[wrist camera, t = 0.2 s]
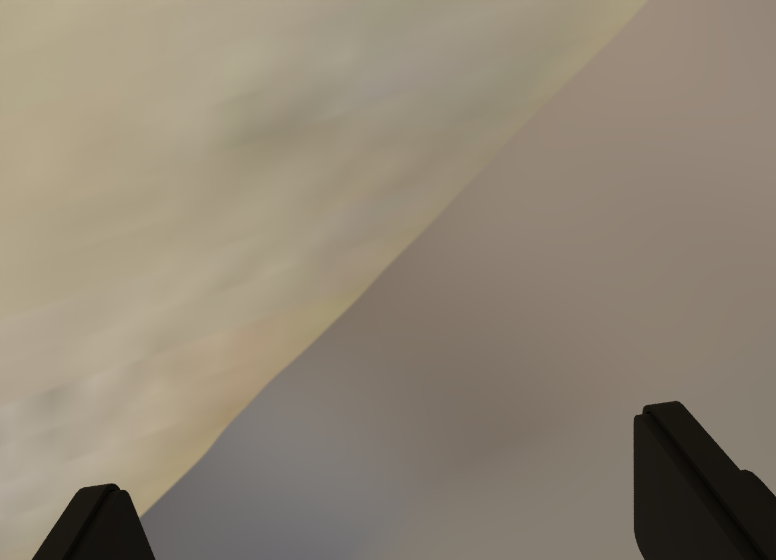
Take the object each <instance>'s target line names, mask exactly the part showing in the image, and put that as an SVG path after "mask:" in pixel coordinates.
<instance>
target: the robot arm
mask: <svg viewBox="0 0 776 560" xmlns="http://www.w3.org/2000/svg"><path fill="white" fill-rule="evenodd" d="M634 533H635V538H636V542H637V544H638V547H639V550H640V552H641V554H642V555H643V557H644V559H645V560H776V497H775V495H774V494H773V493H772V492H771V491H770V490H769V489H768V488H767V486H766V485H765V484H764V483H763V482H762V481H761V480H760V479H759V478H758V477H757V476H756V475H755V474H753V473H752V472H750V471H748V470H740V469H739V468H738V467H737V466H736V465H735V464H734V463H733V461H732V460H731V459H730V458H729V457H728V456H727V455H726V453H725V452H724V451H723V450H722V449H721V448H720V447H719V445H718V444H717V443H716V442H715V441H714V440H713V439H712V437H711V436H710V435H709V434H708V433H707V432H706V431H705V430H704V428H703V427H702V426H701V425H700V424H699V423H698V421H697V420H696V419H695V418H694V417H693V416H692V415H691V413H689V411H688V410H687V409H686V408H685V407H684V405H683V404H681V403H680V402H678V401H673V402H666V403H659V404H652V405H646V406H644V408H643V413H642V414H641V415H636V416H635V418H634ZM32 560H155V557H154V555H153V552H152V550H151V547H150V545H149V542H148V540H147V537H146V535H145V532H144V530H143V527H142V525H141V522H140V520H139V517H138V515H137V512H136V510H135V507H134V505H133V502H132V500H131V497H130V495H129V493H128V492H127V491H126V490H120V488H119V487H118V486H117V485H116V484H112V483H111V484H104V485H97V486H90V487H84V488H81V489H79V491H78V492H77V493H76V494H75V495H74V497H73V498H72V500H71V502H70V503H69V505H68V506H67V508H66V509H65V511H64V512H63V514H62V515H61V517H60V518H59V520H58V521H57V523H56V524H55V526H54V527H53V529H52V530H51V532H50V533H49V535H48V536H47V538H46V539H45V541H44V542H43V544H42V545H41V547H40V548H39V550H38V551H37V553H36V554H35V556H34V557H33V559H32Z"/></svg>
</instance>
